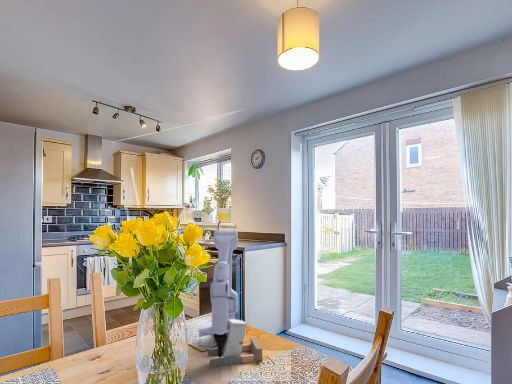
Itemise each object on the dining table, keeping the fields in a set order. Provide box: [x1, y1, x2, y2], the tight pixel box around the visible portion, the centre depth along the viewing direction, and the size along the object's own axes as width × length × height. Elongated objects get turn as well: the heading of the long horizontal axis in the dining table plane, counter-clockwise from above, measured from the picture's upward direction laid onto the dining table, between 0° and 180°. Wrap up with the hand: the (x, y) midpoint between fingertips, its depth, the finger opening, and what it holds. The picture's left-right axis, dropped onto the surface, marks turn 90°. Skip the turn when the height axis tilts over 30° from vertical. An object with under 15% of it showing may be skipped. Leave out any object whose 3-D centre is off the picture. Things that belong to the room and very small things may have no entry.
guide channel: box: [207, 337, 263, 368], centre depth 107 cm, size 9×18×4 cm, turn 104°
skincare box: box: [221, 318, 247, 358], centre depth 107 cm, size 6×4×12 cm
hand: (219, 355), depth 105 cm, fingers closed, pressing on skincare box
